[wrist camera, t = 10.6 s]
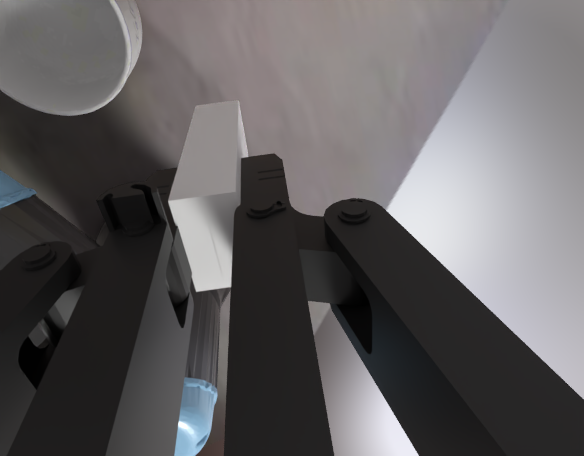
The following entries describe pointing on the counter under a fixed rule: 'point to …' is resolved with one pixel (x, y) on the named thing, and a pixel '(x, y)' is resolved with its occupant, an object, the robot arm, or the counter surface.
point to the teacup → (67, 52)
